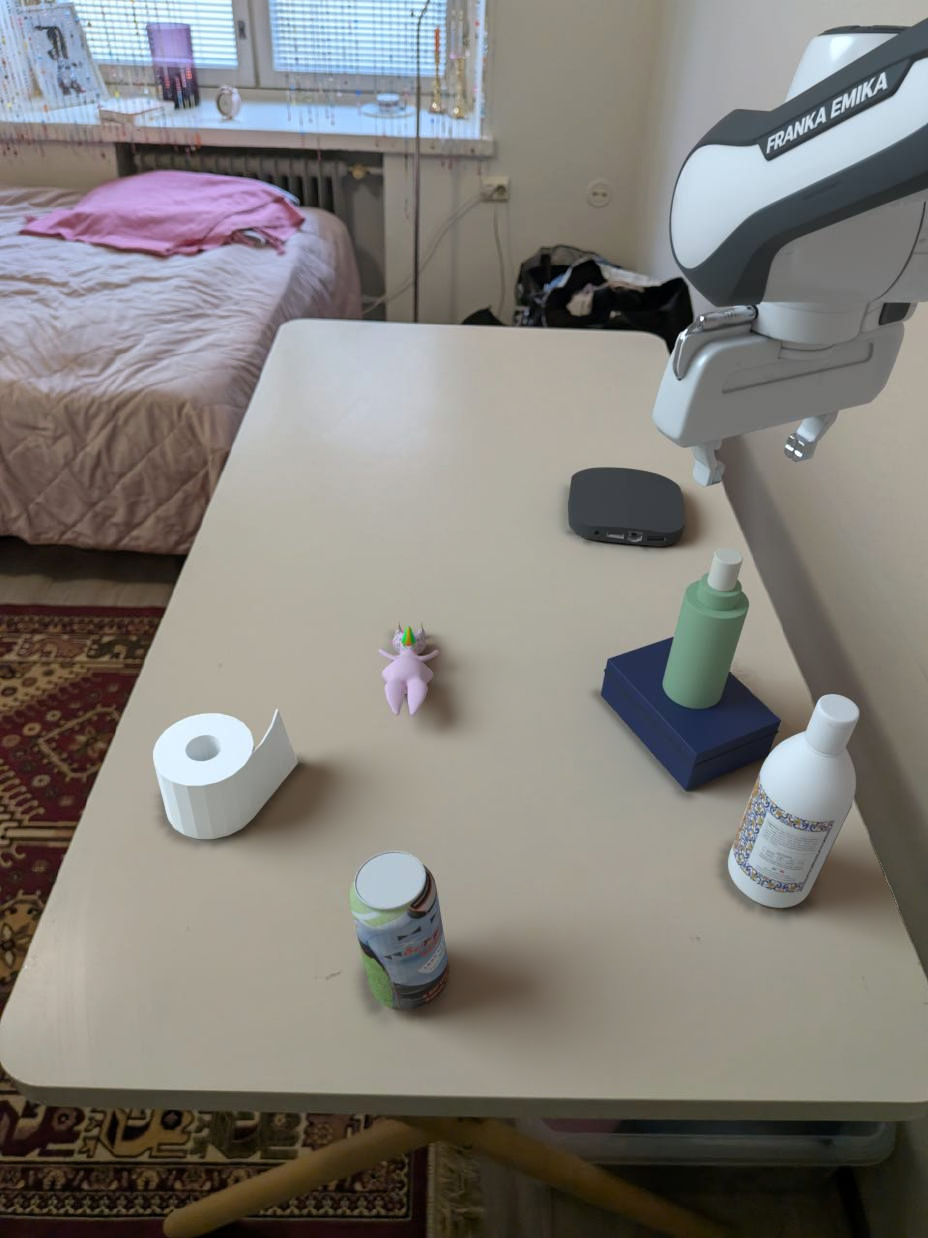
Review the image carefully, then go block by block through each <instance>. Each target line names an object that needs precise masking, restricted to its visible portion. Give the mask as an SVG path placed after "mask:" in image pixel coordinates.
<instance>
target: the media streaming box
mask: <svg viewBox="0 0 928 1238" xmlns="http://www.w3.org/2000/svg"><path fill="white" fill-rule="evenodd" d="M681 489H682V488H681V486H680V485H679V484H678V483H677V482H676V481H674V480H672V479H671V478H669V477H667V476H664V475H663V474H659V473H656V472H653V471H648V470H642V469H637V468H627V467H615V466H614V467H613V466H609V467H608V466H606V467H605V466H604V467H603V466H602V467H598V466H597V467H589V468H584V469H582V470H578V471H577V472H575V473H573V474H572V476H571V477H570V484H569V493H568V501H567V502H568V503H567V507H568V509H567V515H568V516H567V517H568V518H567V519H568V525H569V527H570V529H571V531H573V532H574V533H575V534H577V535H578V536H580V537H582V538H585V539H589V540H593V541H601V542H609V543H610V542H611V543H619V544H630V545H640V546H642V545H643V546H655V547H657V546H658V547H664V546H665V547H666V546H670V545H674V544H676V543H677V542H679V541H680V540H681V538H682V536H683V533H684V529H685V524H686V507H685V500H684V495H683V491H682V490H681Z"/></svg>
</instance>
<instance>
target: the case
mask: <svg viewBox="0 0 928 1238" xmlns="http://www.w3.org/2000/svg"><path fill="white" fill-rule="evenodd" d="M673 638H674V635H673V636H670V637H668V638H665V639H662V640H659V641H656V642H653V643H649V644H647V645H643V646H641V647H638V648H635V649H633V650H632V649H631V650H630V651H626V652H623V653H621V654H618V655H615V656H611V657H609V658H607V660H606V665H605V668H604V669H603V673H604V676H603V680H602V686H601V691H600V696H601V697H602V698H603V699H604V700H605V702H606V703H607V704H608V705H609V707H611V709H612V710H613V711H614V712H615V713H616V714H617V715H618V716H619V718H620V719H621V720H622V721H623V722H624V723H625V724H626V726H627V727H628V728H629V729H630V730H631V731H632V732H633V734H635V736H636V737H637V738H638V739H639V740H640V741H641V743H642V744H643V745H644V746H645V747H646V748H647V749H648V750H649V752H650V753H651V754H652V755H653V756H654V757H655V758H656V759H657V760H658V762H659V763H660V764H661V765H662V766H663V767H664V768H665V770H666V771H667V772H668V773H669V774H670V775H671V776H672V778H673V779H674V780H675V781H676V782H677V783H678V785H680V786H681V787H682V788H683V790H684V791H685V792H687V791H690V790H692V789H694V788H697V787H699V786H702V785H704V784H706V783H709V782H711V781H713V780H717V779H718V778H720V777H723V776H725V775H728V774H730V773H732V772H735V771H738V770H739V769H742V768H745V767H747V766H749V765H751V764H754V763H756V762H758V761H761V760H763V759H766V758H767V757H768V755H769V754H770V753H771V751H772V747H773V745H774V741H775V740H776V737H777V735H779V732H780V731H779V729H780V726H781V724H782V719H781V718H780V717H779V716H778V715H777V714H775V713H774V712H773V710H771V709H770V708H769V707H768V705H766V704H765V703H764V702H763V701H762V700H760V698H758V697H757V696H756V695H755V694H754V692H752V691H751V690H750V689H749V688H748V687H747V686H746V685H745V684H744V683H743V682H742V681H740V680H739V679H738V678H737V677H736V675H734V674H733V673H732V672H731V671H730V670H729V673H728V676H727V680H726V683H725V686H724V689H723V693H722V696H721V699H720V700H719V702H718V703H717V704H715V705H714V706H712V707H709V708H705V709H693V708H688V707H684V706H682V705H680V704H678V703H676V702H674V701H673V700H672V699H670V698H669V697H668V695H667V694H666V693H665V691H664V689H663V678H664V674H665V670H666V666H667V662H668V658H669V654H670V650H671V646H672V642H673Z"/></svg>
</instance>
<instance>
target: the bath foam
mask: <svg viewBox="0 0 928 1238" xmlns="http://www.w3.org/2000/svg"><path fill="white" fill-rule="evenodd" d="M859 719H860V709H859V707H858V706H857V705H856V703H855V702H854V701H853V700H852V699H849V698H848V697H846V696H843V695H841V694H836V693H835V694H834V693H830V694H829V693H828V694H825V695H822V696H821V697H820V698H819V699H818V700H817V702H816V705H815V707H814V710H813V712H812V715H811V717H810V720H809V722H808V725H807V728H806V730H805V731H802V732H799V733H796V734H794V735H792V736H789V737H788V738H786V739H784V740H783V741H781V742H780V743H778V744H777V745H776V746H775V747H774V748H773V749H771V751H770V753H769V755H768V757H766V758H765V760H764V761H763V764H762V765H761V767H760V770H759V773H758V775H757V778H756V780H755V783H754V786H753V788H752V791H751V794H750V796H749V800H748V802H747V806H746V808H745V810H744V812H743V816H742V818H741V821H740V823H739V824H740V825H739V826H738V829H737V832H736V834H735V837H734V840H733V843H732V846H731V849H730V851H729V853H728V854H729V855H728V858H727V868H728V873H729V875H730V878H731V879H732V881H733V883H734V884H735V886H736V887H737V888H738V889H739V891H741V892H742V893H743V894H744V895H745V896H746V897H747V898H749V899H750V900H752V901H754V902H756V903H757V904H760V905H763V906H765V907H769V908H776V909H783V908H790V907H794V906H796V905H799V904H800V903H802V902H803V901H804V900H805V899H806V898H807V897H808V896H809V894H810V892H811V890H812V888H813V886H814V884H815V882H816V880H817V879H818V877H819V875H820V874H821V871H822V869H823V866H824V865H825V863H826V860H827V858H828V857H829V854H830V853H831V850H832V848H833V846H834V844H835V842H836V840H837V837H838V835H840V831H841V829H842V828H843V825H844V823H845V821H846V819H847V817H848V815H849V813H850V811H851V808H852V806H853V802H854V799H855V794H856V790H857V789H856V788H857V778H856V777H857V775H856V770H855V766H854V764H853V761H852V757H851V756H850V753H849V752H848V751H849V750H848V749H847V745H848V744H849V741H850V740H851V739H850V738H851V737H852V734H853V732H854V730H855V728H856V725H857V724H858V722H859Z"/></svg>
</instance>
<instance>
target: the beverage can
mask: <svg viewBox="0 0 928 1238" xmlns="http://www.w3.org/2000/svg"><path fill="white" fill-rule="evenodd" d="M348 895H349V898H348V901H349V907H350V912H351V916H352V921H353V924H354V927H355V928H354V929H355V932H356V937H357V941H358V945H359V949H360V952H361V955H362V961H363V964H364V968H365V973H366V977H367V980H368V985H369V988H370V990H371V993H372V994H373V996H374V998H375V999H376V1000H377V1001H379V1003H381V1004H382V1005H384V1006H385V1007H388V1008H390V1009H393V1010H397V1011H412V1010H413V1011H414V1010H417V1009H420V1008H422V1007H423V1008H424V1007H425V1006H427V1005H429V1004H430V1003H432V1002H433V1001H435V1000H436V999H437V998H438V997H439V996H440V995H441V993H443V991H444V989H445V987H446V986H447V983H448V980H449V976H450V963H449V958H448V951H447V945H446V944H447V943H446V939H445V933H444V926H443V920H442V919H443V918H442V912H441V908H440V900H439V895H438V889H437V883H436V880H435V877H434V876H433V874H432V872H431V870H430V869H429V868H428V867H427V866H426V865H424V864H423V863H422V862H421V860H420V859H418V858H417V857H416V856H415V855H414V854H411V853H409V852H406V851H401V850H389V851H384V852H380V853H378V854H375V855H373V856H371V857H370V858H368V859H367V860H366V861H365V862H363V864H362V865H360V867H359V868H358V870H357V871H356V874H355V876H354V880H353V882H352V883H351V886H350V889H349V894H348Z"/></svg>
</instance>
